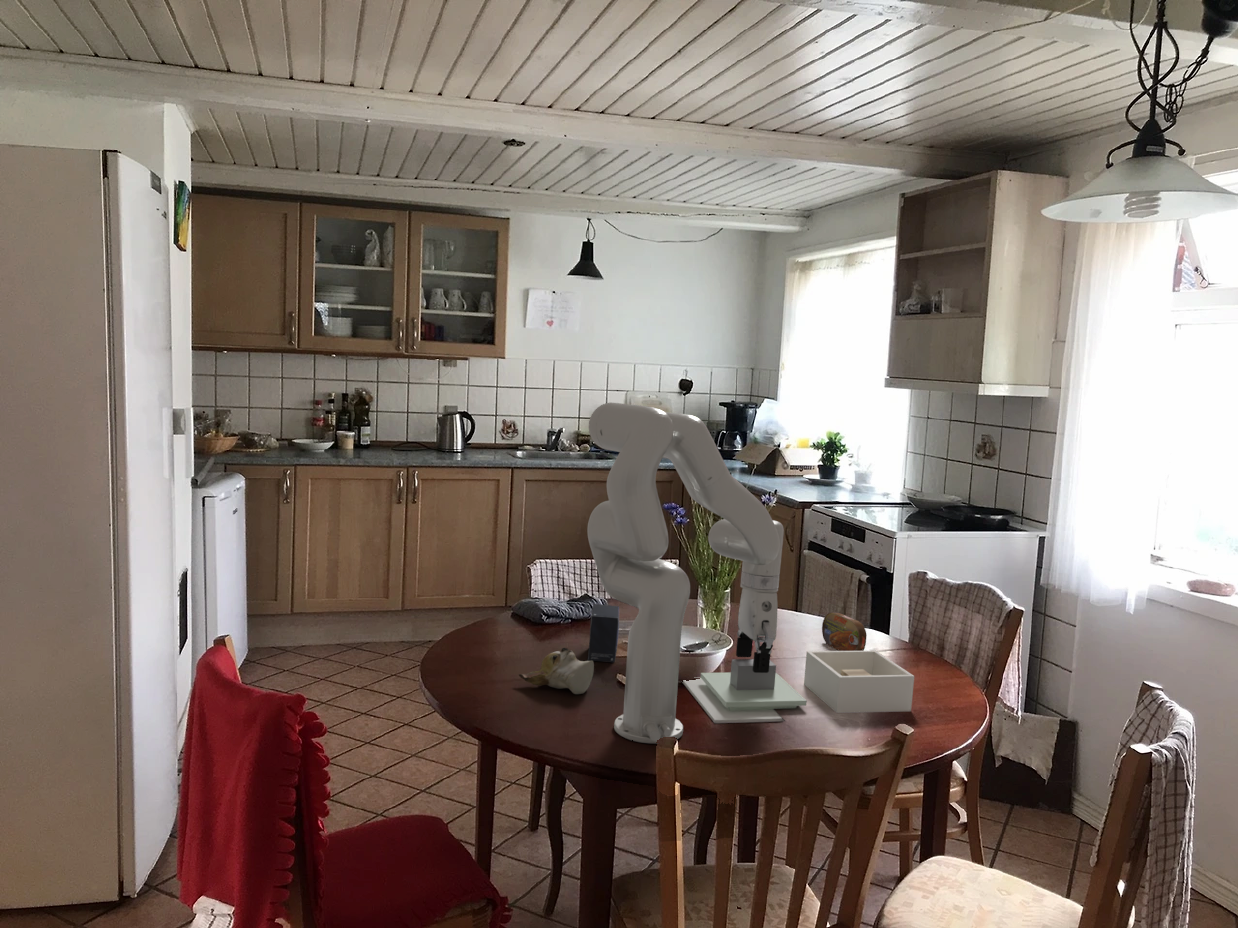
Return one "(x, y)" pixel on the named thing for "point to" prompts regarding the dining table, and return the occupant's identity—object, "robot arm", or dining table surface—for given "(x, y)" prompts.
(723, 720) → the mat
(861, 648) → the tin
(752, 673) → the lid
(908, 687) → the storage box
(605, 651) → the small box
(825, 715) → the dining table surface
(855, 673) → the ash block
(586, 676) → the ceramic sculpture
